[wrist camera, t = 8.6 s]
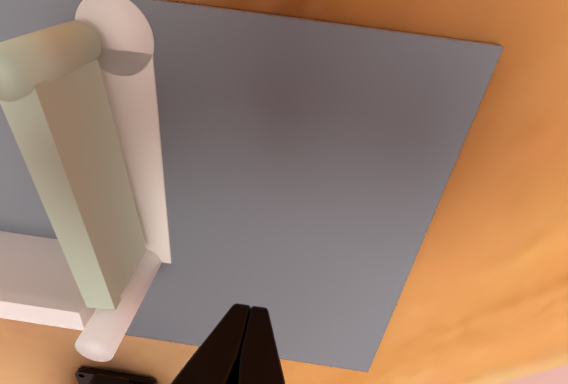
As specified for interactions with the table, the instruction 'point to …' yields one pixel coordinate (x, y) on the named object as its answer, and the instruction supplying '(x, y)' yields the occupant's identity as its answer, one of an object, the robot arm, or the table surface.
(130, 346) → the table surface
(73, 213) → the swinging fence panel
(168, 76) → the card
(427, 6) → the table surface
